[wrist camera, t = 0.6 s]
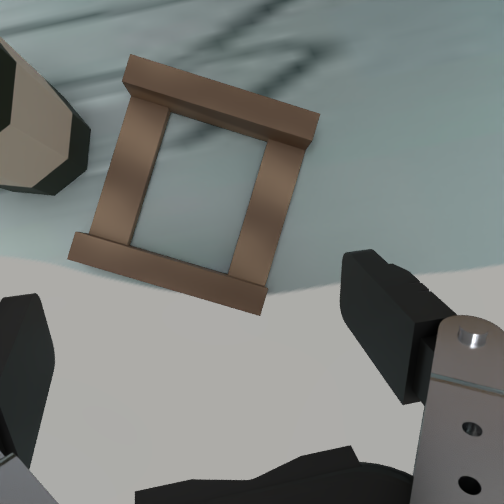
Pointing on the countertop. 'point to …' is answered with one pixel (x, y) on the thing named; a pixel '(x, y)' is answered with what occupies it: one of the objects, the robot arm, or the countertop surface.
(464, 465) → the robot arm
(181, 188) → the countertop surface
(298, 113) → the cradle
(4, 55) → the wine bottle
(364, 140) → the countertop surface
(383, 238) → the countertop surface
